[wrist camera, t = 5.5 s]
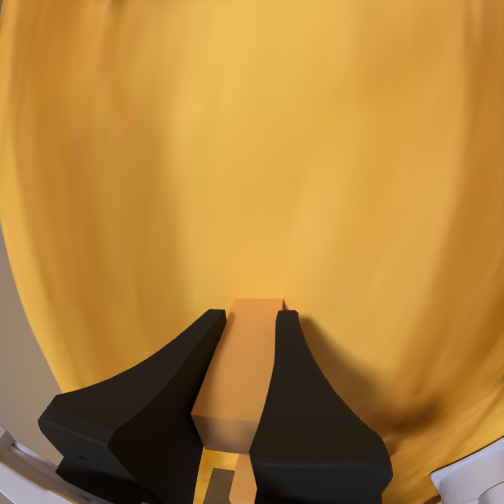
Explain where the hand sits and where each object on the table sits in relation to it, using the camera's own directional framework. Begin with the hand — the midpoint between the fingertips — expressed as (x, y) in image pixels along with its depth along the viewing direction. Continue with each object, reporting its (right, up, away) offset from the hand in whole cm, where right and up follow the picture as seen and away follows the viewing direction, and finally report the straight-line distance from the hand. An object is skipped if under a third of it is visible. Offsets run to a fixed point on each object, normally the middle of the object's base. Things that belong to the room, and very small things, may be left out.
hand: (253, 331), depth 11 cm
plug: (+1, -6, +4) cm, 8 cm away
